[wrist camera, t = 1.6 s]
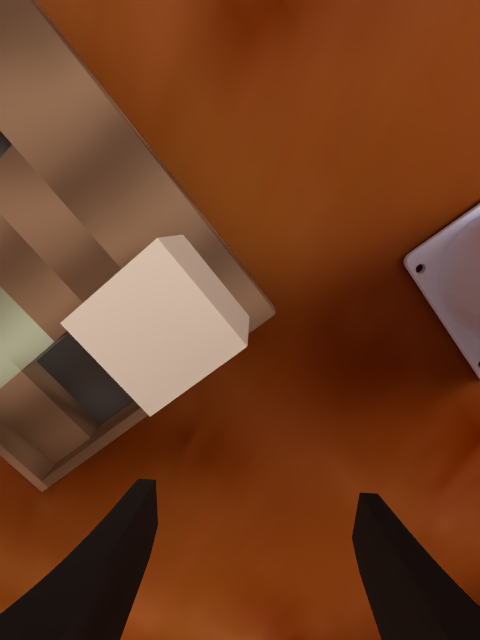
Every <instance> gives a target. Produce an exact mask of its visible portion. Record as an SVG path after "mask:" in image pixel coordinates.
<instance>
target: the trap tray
mask: <svg viewBox="0 0 480 640" xmlns="http://www.w3.org/2000/svg"><path fill="white" fill-rule="evenodd" d="M175 235H184V236H185V238H186V239H187V240H188V241H189V242H190V244H191V245H192V246H193V247H194V249H195V250H196V251H197V252H198V254H199V255H200V256H201V257H202V259H203V260H204V261H205V262H206V264H207V265H208V266H209V267H210V268H211V270H212V271H213V272H214V273H215V275H216V276H217V277H218V278H219V280H220V281H221V282H222V283H223V285H224V286H225V287H226V288H227V289H228V291H229V292H230V293H231V294H232V296H233V297H234V298H235V299H236V301H237V302H238V303H239V304H240V306H241V307H242V308H243V309H244V311H245V312H246V313H247V314H248V315H249V330H248V334H249V333H250V332H252V331H253V330H254V329H256V328H257V327H259V326H260V325H261V324H263V323H264V322H265V321H267V320H268V319H269V318H271V317H272V316H274V315H275V314H276V310H275V306H274V305H273V304H272V302H271V301H270V300H269V299H268V297H267V296H266V295H265V294H264V292H263V291H262V290H261V288H260V287H259V286H258V285H257V283H256V282H255V281H254V279H253V278H252V277H251V276H250V274H249V273H248V272H247V270H246V269H245V268H244V267H243V265H242V264H241V263H240V262H239V260H238V259H237V258H236V256H235V255H234V254H233V253H232V251H231V250H230V249H229V247H228V246H227V245H226V244H225V242H224V241H223V240H222V239H221V237H220V236H219V235H218V233H217V232H216V231H215V230H214V228H213V227H212V226H211V224H210V223H209V222H208V221H207V219H206V218H205V217H204V216H203V214H202V213H201V212H200V210H199V209H198V208H197V207H196V205H195V204H194V203H193V201H192V200H191V199H190V198H189V196H188V195H187V194H186V193H185V191H184V190H183V189H182V187H181V186H180V185H179V184H178V182H177V181H176V180H175V178H174V177H173V176H172V175H171V173H170V172H169V171H168V170H167V168H166V167H165V166H164V164H163V163H162V162H161V161H160V159H159V158H158V157H157V155H156V154H155V153H154V152H153V150H152V149H151V148H150V147H149V145H148V144H147V143H146V141H145V140H144V139H143V138H142V136H141V135H140V134H139V132H138V131H137V130H136V129H135V127H134V126H133V125H132V124H131V122H130V121H129V120H128V118H127V117H126V116H125V115H124V113H123V112H122V111H121V109H120V108H119V107H118V106H117V104H116V103H115V102H114V101H113V99H112V98H111V97H110V95H109V94H108V93H107V92H106V90H105V89H104V88H103V86H102V85H101V84H100V83H99V81H98V80H97V79H96V78H95V76H94V75H93V74H92V72H91V71H90V70H89V69H88V67H87V66H86V65H85V63H84V62H83V61H82V60H81V58H80V57H79V56H78V55H77V53H76V52H75V51H74V49H73V48H72V47H71V46H70V44H69V43H68V42H67V40H66V39H65V38H64V37H63V35H62V34H61V33H60V32H59V30H58V29H57V28H56V26H55V25H54V24H53V23H52V21H51V20H50V19H49V17H48V16H47V15H46V14H45V12H44V11H43V10H42V9H41V7H40V6H39V5H38V3H37V2H36V1H35V0H0V456H2V457H3V458H4V459H5V460H6V461H7V462H8V463H9V464H11V465H12V466H13V467H14V468H15V469H16V470H17V471H18V472H20V473H21V474H22V475H23V476H24V477H25V478H26V479H27V480H29V481H30V482H31V483H32V484H33V485H34V486H35V487H37V488H38V489H39V490H40V491H41V492H43V491H44V490H46V489H47V488H49V487H50V486H51V485H53V484H54V483H55V482H57V481H58V480H60V479H61V478H62V477H64V476H65V475H66V474H68V473H69V472H71V471H72V470H73V469H75V468H76V467H77V466H79V465H80V464H82V463H83V462H84V461H86V460H87V459H88V458H90V457H91V456H93V455H94V454H95V453H97V452H98V451H100V450H101V449H102V448H104V447H105V446H106V445H108V444H109V443H111V442H112V441H113V440H115V439H116V438H117V437H119V436H120V435H122V434H123V433H124V432H126V431H127V430H128V429H130V428H131V427H133V426H134V425H135V424H137V423H138V422H139V421H141V420H142V419H144V418H145V417H146V416H148V414H147V413H146V412H145V411H144V410H143V409H142V408H141V407H140V406H139V405H138V404H137V403H136V402H135V401H134V400H133V399H132V397H131V396H130V395H129V394H128V393H127V392H126V391H125V390H124V389H123V388H122V387H121V386H120V385H119V384H118V383H117V382H116V381H115V380H114V379H113V378H112V377H111V376H110V375H109V374H108V373H107V372H106V370H105V369H104V368H103V367H102V366H101V365H100V364H99V363H98V362H97V361H96V360H95V359H94V358H93V357H92V356H91V355H90V354H89V353H88V352H87V351H86V350H85V349H84V348H83V347H82V346H81V345H80V343H79V342H78V341H77V340H76V339H75V338H74V337H73V336H72V335H71V334H70V333H69V332H68V331H67V330H66V329H65V328H64V327H63V326H62V325H61V324H60V323H61V322H62V321H63V320H64V319H65V318H67V317H68V316H69V315H70V314H71V313H72V312H73V311H74V310H76V309H77V308H78V307H79V306H80V305H81V304H82V303H84V302H85V301H86V300H87V299H88V298H89V297H90V296H92V295H93V294H94V293H95V292H96V291H97V290H98V289H99V288H101V287H102V286H103V285H104V284H105V283H106V282H107V281H109V280H110V279H111V278H112V277H113V276H114V275H115V274H117V273H118V272H119V271H120V270H121V269H122V268H123V267H125V266H126V265H127V264H128V263H129V262H130V261H131V260H132V259H134V258H135V257H136V256H137V255H138V254H139V253H140V252H142V251H143V250H144V249H145V248H146V247H147V246H148V245H150V244H151V243H152V242H153V241H154V240H155V239H156V238H159V237H167V236H175Z"/></svg>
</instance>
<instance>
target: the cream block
mask: <svg viewBox="0 0 480 640" xmlns="http://www.w3.org/2000/svg"><path fill="white" fill-rule="evenodd" d="M60 324H61V325H62V326H63V327H64V328H65V329H66V330H67V331H68V332H69V333H70V334H71V335H72V336H73V337H74V338H75V339H76V340H77V341H78V342H79V343H80V345H81V346H82V347H83V348H84V349H85V350H86V351H87V352H88V353H89V354H90V355H91V356H92V357H93V358H94V359H95V360H96V361H97V362H98V363H99V364H100V365H101V366H102V367H103V368H104V369H105V370H106V372H107V373H108V374H109V375H110V376H111V377H112V378H113V379H114V380H115V381H116V382H117V383H118V384H119V385H120V386H121V387H122V388H123V389H124V390H125V391H126V392H127V393H128V394H129V395H130V396H131V397H132V399H133V400H134V401H135V402H136V403H137V404H138V405H139V406H140V407H141V408H142V409H143V410H144V411H145V412H146V413H147V414H148V415H149V416H150V417H151V416H152V415H153V414H155V413H156V412H158V411H159V410H160V409H162V408H163V407H164V406H166V405H167V404H169V403H170V402H171V401H173V400H174V399H175V398H177V397H178V396H180V395H181V394H182V393H184V392H185V391H187V390H188V389H189V388H191V387H192V386H193V385H195V384H196V383H198V382H199V381H200V380H202V379H203V378H205V377H206V376H207V375H209V374H210V373H211V372H213V371H214V370H216V369H217V368H218V367H220V366H221V365H223V364H224V363H225V362H227V361H228V360H229V359H231V358H232V357H234V356H235V355H236V354H238V353H239V352H240V351H242V350H243V349H245V348H246V347H247V345H248V330H249V315H248V314H247V313H246V312H245V311H244V309H243V308H242V307H241V306H240V304H239V303H238V302H237V301H236V299H235V298H234V297H233V296H232V294H231V293H230V292H229V291H228V289H227V288H226V287H225V286H224V285H223V283H222V282H221V281H220V280H219V278H218V277H217V276H216V275H215V273H214V272H213V271H212V270H211V268H210V267H209V266H208V265H207V264H206V262H205V261H204V260H203V259H202V257H201V256H200V255H199V254H198V252H197V251H196V250H195V249H194V247H193V246H192V245H191V244H190V242H189V241H188V240H187V239H186V238H185V236H184V235H175V236H167V237H159V238H156V239H155V240H154V241H153V242H152V243H151V244H150V245H148V246H147V247H146V248H145V249H144V250H143V251H142V252H140V253H139V254H138V255H137V256H136V257H135V258H134V259H132V260H131V261H130V262H129V263H128V264H127V265H126V266H125V267H123V268H122V269H121V270H120V271H119V272H118V273H117V274H115V275H114V276H113V277H112V278H111V279H110V280H109V281H107V282H106V283H105V284H104V285H103V286H102V287H101V288H99V289H98V290H97V291H96V292H95V293H94V294H93V295H92V296H90V297H89V298H88V299H87V300H86V301H85V302H84V303H82V304H81V305H80V306H79V307H78V308H77V309H76V310H74V311H73V312H72V313H71V314H70V315H69V316H68V317H67V318H65V319H64V320H63V321H62V322H61V323H60Z"/></svg>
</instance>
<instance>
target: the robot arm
mask: <svg viewBox="0 0 480 640" xmlns="http://www.w3.org/2000/svg"><path fill="white" fill-rule="evenodd" d="M419 264H421V265H422V270H421V271H420V272H418V273H417V272H416V267H417V266H418V265H419ZM404 266H405V268H406V269H407V271H408V272H409V274H410V275H411V277H412V278H413V280H414V281H415V283H416V284H417V286H418V287H419V289H420V290H421V292H422V293H423V295H424V296H425V298H426V299H427V301H428V302H429V304H430V305H431V307H432V308H433V310H434V311H435V313H436V314H437V316H438V317H439V319H440V321H441V322H442V324H443V325H444V327H445V328H446V330H447V331H448V333H449V334H450V336H451V337H452V339H453V340H454V342H455V343H456V345H457V346H458V348H459V349H460V351H461V352H462V354H463V355H464V357H465V358H466V360H467V361H468V363H469V364H470V366H471V367H472V369H473V371H474V372H475V374H476V375H477V377H478V378H479V379H480V365H478V363H479V362H480V203H479V204H478V205H476V206H475V207H473V208H472V209H471V210H469V211H468V212H466V213H465V214H463V215H462V216H461V217H459V218H458V219H456V220H455V221H454V222H452V223H451V224H449V225H448V226H446V227H445V228H444V229H442V230H441V231H439V232H438V233H437V234H435V235H434V236H432V237H431V238H429V239H428V240H427V241H425V242H424V243H422V244H421V245H420V246H418V247H417V248H415V249H414V250H412V251H411V252H410V253H408V254H407V255H406V256H405V258H404ZM157 526H158V518H157V498H156V480H148V479H138V480H137V481H136V482H135V483H134V484H133V485H132V487H131V488H130V489H129V490H128V491H127V493H126V494H125V495H124V496H123V497H122V498H121V500H120V501H119V502H118V503H117V504H116V505H115V507H114V508H113V509H112V510H111V511H110V512H109V513H108V514H107V515H106V517H105V518H104V519H103V520H102V521H101V522H100V523H99V524H98V525H97V526H96V527H95V529H94V530H93V531H92V532H91V533H90V534H89V535H88V536H87V537H86V538H85V539H84V540H83V541H82V542H81V543H80V544H79V545H78V546H77V547H76V548H75V549H74V550H73V551H72V552H71V553H70V554H69V555H68V556H67V557H66V558H65V559H64V560H63V561H62V562H61V563H60V564H59V565H57V566H56V567H55V568H54V569H53V570H52V571H51V572H50V573H49V574H48V575H46V576H45V577H44V578H43V579H42V580H41V581H40V582H39V583H37V584H36V585H35V586H34V587H33V588H32V589H30V590H29V591H28V592H27V593H26V594H24V595H23V596H22V597H21V598H20V599H18V600H17V601H16V602H15V603H13V604H12V605H11V606H10V607H9V608H7V609H6V610H5V611H4V612H2V613H1V614H0V640H120V638H121V635H122V633H123V630H124V627H125V624H126V622H127V619H128V616H129V613H130V611H131V608H132V605H133V602H134V600H135V597H136V594H137V591H138V589H139V586H140V583H141V580H142V578H143V575H144V572H145V569H146V566H147V563H148V561H149V558H150V554H151V550H152V546H153V543H154V539H155V534H156V530H157ZM352 540H353V545H354V549H355V554H356V559H357V563H358V567H359V572H360V575H361V578H362V581H363V584H364V587H365V590H366V594H367V597H368V600H369V603H370V606H371V609H372V612H373V615H374V618H375V621H376V624H377V627H378V630H379V633H380V636H381V639H382V640H480V606H479V605H477V604H476V603H475V602H474V601H473V600H472V599H471V598H470V597H469V596H468V595H467V594H466V593H465V592H464V591H463V590H462V589H461V588H460V587H459V586H458V585H457V584H456V583H455V582H454V581H453V580H452V578H451V577H450V576H449V575H448V574H447V573H446V572H445V571H444V570H443V569H442V568H441V567H440V566H439V565H438V564H437V563H436V561H435V560H434V559H433V558H432V557H431V556H430V555H429V554H428V552H427V551H426V550H425V549H424V548H423V547H422V546H421V545H420V543H419V542H418V541H417V540H416V539H415V538H414V537H413V535H412V534H411V533H410V532H409V531H408V530H407V528H406V527H405V526H404V525H403V524H402V522H401V521H400V520H399V519H398V518H397V516H396V515H395V514H394V513H393V512H392V510H391V509H390V508H389V507H388V506H387V504H386V503H385V502H384V501H383V500H382V498H381V497H380V496H379V495H378V494H372V493H360V495H359V500H358V506H357V512H356V518H355V524H354V530H353V535H352Z"/></svg>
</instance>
